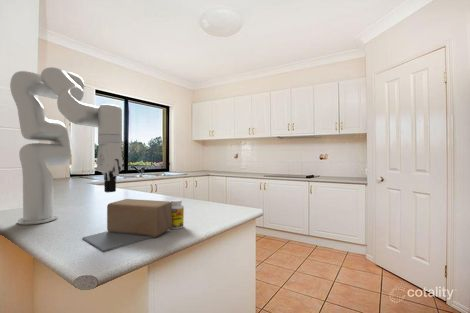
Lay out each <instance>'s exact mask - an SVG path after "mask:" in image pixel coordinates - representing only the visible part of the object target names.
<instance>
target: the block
mask: <svg viewBox="0 0 470 313" xmlns="http://www.w3.org/2000/svg"><path fill="white" fill-rule="evenodd" d="M106 207H107V208H106V210H107V212H106V231H109V232H118V233H127V234H137V235H147V236H155V237H159V236H160V235H162V234H164V233H165V232H167V231H170V229H171V227H172V203H171V201H168V200H167V201H166V200H151V199H150V200H148V199H132V198H124V199H120V200H117V201H113V202H110V203H108V204H107V206H106Z"/></svg>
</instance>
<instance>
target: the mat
mask: <svg viewBox="0 0 470 313" xmlns="http://www.w3.org/2000/svg"><path fill="white" fill-rule="evenodd" d="M155 237H156V236H147V235H137V234H127V233H118V232H109V231H108V230H106V231H104V232H97V233H95V234H91V235H87V236H82V240H84V241H85V242H86V243H89V244H90V245H91V246H93V247H95V248H96V249H98V250H100V251H101V252H102V253H104V252H107V251H110V250H111V251H112V250H115V249H119V248H123V247H124V246H128V245H132V244H135V243H138V242H142V241H145V240H149V239H152V238H155Z"/></svg>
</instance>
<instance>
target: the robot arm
mask: <svg viewBox="0 0 470 313" xmlns="http://www.w3.org/2000/svg"><path fill="white" fill-rule="evenodd" d="M9 83H10V84H9V86H10V87H9V88H10V89H9V90H10V92H11V95H12V99H13V101H14V103H15V105H16V109H17V115H18V121H19V122H18V123H19V128H20V133H21V135H22V137H23V138H24V139H25V140H28V141H36V142H37V143H36V142H34V143H33V142H32V143H28V144H24V145H23V146H22V147H21V148H20V149H19V154H18V156H19V157H18V158H19V160H20V164H21V170H22V171H21V172H22V173H21V174H22V217H21V218H19V219H18V220H17V224H18V225H28V226H29V225H37V224H38V225H39V224H44V223H49V222H52V221H56V220H57V219H58V214H55V213H54V176H53V174H52V172H51V171H50V170H49V168H48V167H59V166H66V165H68V164H69V163H70V162H71V158H72V150H71V144H70V139H69V138H70V137H69V133H68V132H69V131H68V128H67V126H66V125H65V123H63V122H61V121H59V120H55V119H48V118H47V117H46V113H45V112H46V111H45V108H44V106H43V104H42V103H41V101H40V100H39V99H38V98H37V97H36V96H39V97H45V98H50V99H52V100H53V99H54V100H56V104H57V109H58V111H59V113H60V114H61V115H62V116H63V117H64V118H65V119H67V120H68V121H69V122H70V123H72V124H74V125H78V126H86V127H92V128H97V134H98V135H97V144H98V149H97V155H96V156H97V158H96V170H97V171H98V172H100V173H101V174H102V175H103V181H104V182H103V183H104V187H103V188H104V192H105V193H114V192H116V191H117V183H116V182H117V177H118V176H120V172H121V171H122V170H123V156H122V153H123V152H122V145H123V110H122V108H121V106H118V105H115V104H111V103H110V104H109V103H108V104H107V103H105V104H104V103H103V104H100V105H99V106H96V105H93V104H87V103H83V102H81V101H82V100H83V97H84V89H85V83H84V80H83V78H82V77H81V76H79V75H78V74H76V73H73V72H70V71H67V70H64V69H62V68H58V67H51V66H50V67H46V68H44V69H43V70H42V71H41V74H39V73H35V72H31V71H25V70H22V71H21V70H20V71H16V72H14V74H13V75H12V76H11V78H10V82H9ZM39 142H50V143H39Z"/></svg>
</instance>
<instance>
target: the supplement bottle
mask: <svg viewBox="0 0 470 313" xmlns="http://www.w3.org/2000/svg"><path fill="white" fill-rule="evenodd" d="M170 202H171V203H172V227H171V229H172V230H179V229H180V230H181V229H182V228H183V227H184V217H185V216H184V214H185V211H184V210H185V208H184V207H185V206H184V205H183V204H182V203H183V202H182V199H178V198H177V199H171V200H170Z"/></svg>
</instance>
